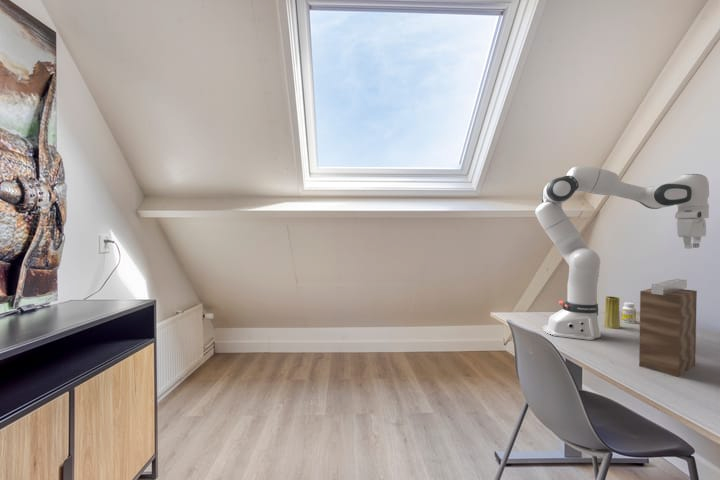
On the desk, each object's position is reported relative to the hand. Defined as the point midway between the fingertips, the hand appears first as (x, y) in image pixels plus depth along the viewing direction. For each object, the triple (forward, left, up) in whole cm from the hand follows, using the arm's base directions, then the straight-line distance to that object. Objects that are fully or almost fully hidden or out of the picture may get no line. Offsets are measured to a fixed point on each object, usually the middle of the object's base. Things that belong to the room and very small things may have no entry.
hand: (692, 248), depth 133 cm
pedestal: (-24, -29, -39) cm, 54 cm away
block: (-23, -28, -13) cm, 39 cm away
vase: (-20, +18, -39) cm, 48 cm away
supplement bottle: (-8, +29, -39) cm, 50 cm away
